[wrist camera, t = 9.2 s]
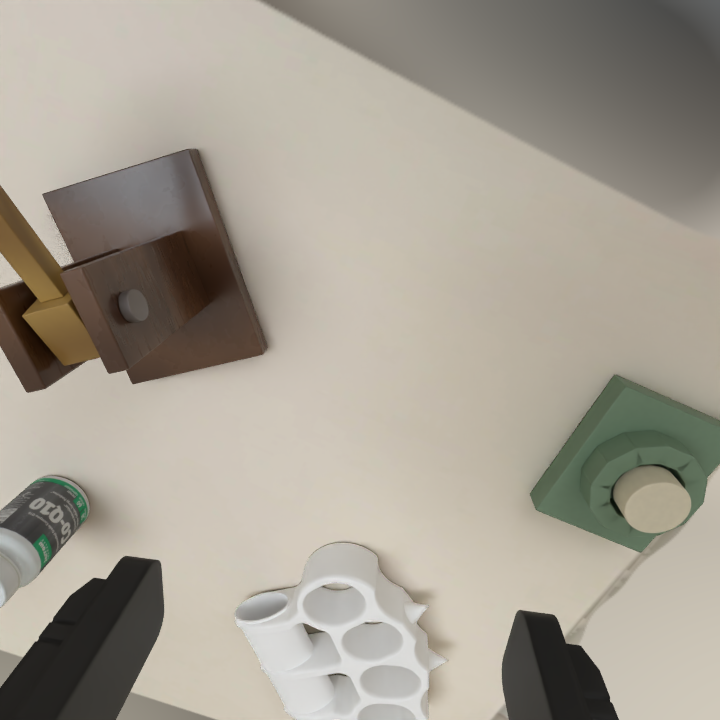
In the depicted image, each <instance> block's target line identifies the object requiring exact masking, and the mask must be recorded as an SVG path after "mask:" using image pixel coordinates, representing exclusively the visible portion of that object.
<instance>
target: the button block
mask: <svg viewBox="0 0 720 720" xmlns="http://www.w3.org/2000/svg"><path fill="white" fill-rule="evenodd" d="M719 464H720V421H719V420H717V419H715V418H713V417H710V416H708V415H706V414H704V413H701V412H699V411H697V410H695V409H692V408H690V407H688V406H685V405H683V404H681V403H679V402H676V401H674V400H672V399H670V398H667V397H665V396H663V395H660V394H658V393H656V392H654V391H651V390H649V389H647V388H645V387H642V386H640V385H638V384H636V383H633V382H631V381H629V380H626V379H624V378H622V377H620V376H617V375H614V376H613V378H612V379H611V380H610V382H609V383H608V385H607V386H606V388H605V389H604V390H603V392H602V393H601V395H600V396H599V397H598V399H597V400H596V402H595V403H594V404H593V406H592V407H591V409H590V410H589V412H588V413H587V414H586V416H585V417H584V419H583V420H582V421H581V423H580V424H579V426H578V427H577V428H576V430H575V431H574V433H573V434H572V435H571V437H570V438H569V440H568V441H567V443H566V444H565V445H564V447H563V448H562V450H561V451H560V452H559V454H558V455H557V457H556V458H555V459H554V461H553V462H552V464H551V465H550V466H549V468H548V469H547V471H546V472H545V474H544V475H543V476H542V478H541V479H540V481H539V482H538V483H537V485H536V486H535V488H534V489H533V490H532V492H531V493H530V496H531V498H532V501H533V504H534V506H535V509H536V510H537V511H539V512H542V513H544V514H547V515H549V516H552V517H554V518H557V519H559V520H562V521H564V522H566V523H569V524H571V525H574V526H576V527H579V528H581V529H584V530H586V531H589V532H591V533H594V534H596V535H598V536H601V537H603V538H606V539H608V540H611V541H613V542H616V543H618V544H621V545H623V546H626V547H628V548H630V549H633V550H635V551H638V552H640V553H641V552H642V551H643V550H644V549H645V548H646V547H647V545H648V544H649V543H650V542H651V541H652V540H653V539H654V538H655V536H658V535H661V534H663V533H665V532H667V531H665V532H661V533H645V532H641V531H639V530H637V529H635V528H633V527H632V526H631V525H629V523H628V522H627V521H626V519H625V517H624V516H623V514H622V512H621V511H620V509H619V507H618V506H617V504H616V502H615V500H614V497H613V490H614V486H615V484H616V482H617V480H618V479H619V478H620V477H621V476H622V475H623V474H624V473H626V472H627V471H629V470H631V469H633V468H635V467H638V466H643V465H656V466H660V467H663V468H665V469H667V470H668V471H670V472H671V473H672V474H673V475H674V477H675V478H676V479H677V480H678V481H679V483H680V484H681V485H682V486H683V487H684V489H685V490H686V491H687V492H688V494H689V496H690V499H691V509H690V512H689V514H688V516H687V517H686V519H685V520H684V521H683V522H682V523H681V524H679V525H678V526H676V527H679V526H681V525H683V524H684V523H686V522H687V521H688V519H689V518H690V517H691V516H692V515H693V514H694V513H695V512H696V511H697V509H698V508H699V507H700V506H701V505H702V504H703V502H704V497H705V491H706V485H707V477H708V476H709V475H710V474H711V473H712V472H713V470H714V469H715V468H716V467H717V466H718V465H719ZM676 527H675V528H676ZM673 529H674V528H673ZM671 530H672V529H671ZM668 531H670V530H668Z"/></svg>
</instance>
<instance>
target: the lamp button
mask: <svg viewBox="0 0 720 720" xmlns="http://www.w3.org/2000/svg"><path fill="white" fill-rule="evenodd" d="M613 497H614V500H615V502H616V504H617V506H618V507H619V509H620V511H621V512H622V514H623V516H624V517H625V519H626V521H627V522H628V523H629V525H631V526H632V527H633V528H635V529H637V530H639V531H641V532H645V533H661V532H665V531H668V530H671V529H673V528H675V527H676V526H678V525H679V524H681V523H682V522H683V521H684V520H685V519H686V517H687V516H688V514H689V512H690V509H691V499H690V496H689V494H688V492H687V491H686V490H685V489H684V487H683V486H682V485H681V484H680V483H679V481H678V480H677V479H676V478H675V477H674V475H673V474H672V473H671V472H670V471H668V470H667V469H665V468H663V467H660V466H656V465H643V466H638V467H635V468H633V469H631V470H629V471H627V472H626V473H624V474H623V475H622V476H621V477H620V478H619V479H618V480H617V482H616V484H615V486H614V490H613Z"/></svg>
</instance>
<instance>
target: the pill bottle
mask: <svg viewBox="0 0 720 720" xmlns="http://www.w3.org/2000/svg"><path fill="white" fill-rule="evenodd" d="M89 511H90V505H89V501H88V498H87V496H86V494H85V493H84V491H83V490H82V489H81V488H80V487H79V486H78V485H77V484H75V483H74V482H72V481H70V480H68V479H65V478H62V477H57V476H46V477H42V478H39V479H37V480H36V481H34V482H33V483H32V484H30V485H29V486H28V487H27V488H26V489H25V490H24V491H22V492H21V493H20V494H19V495H18V496H17V497H16V498H15V499H13V500H12V501H11V502H10V503H9V504H8V505H6V506H5V507H4V508H3V509H2V510H1V511H0V608H1V607H2V606H3V605H4V604H5V603H6V602H7V601H8V600H9V599H10V598H11V597H12V595H13V594H14V593H15V592H16V591H17V590H18V588H20V587H23V586H26V585H28V584H29V583H30V582H32V581H33V580H34V579H35V578H36V577H37V576H38V575H39V574H40V572H41V571H42V570H43V569H44V568H45V566H46V565H47V564H48V563H49V562H50V561H51V560H52V558H53V557H54V556H55V555H56V554H57V553H58V551H59V550H60V549H61V548H62V547H63V546H64V545H65V543H66V542H67V541H68V540H69V539H70V537H71V536H72V535H73V534H74V533H75V532H76V531H77V530H78V529H79V527H80V526H81V525H82V524H83V523H84V521H85V520H86V519H87V517H88V515H89Z"/></svg>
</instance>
